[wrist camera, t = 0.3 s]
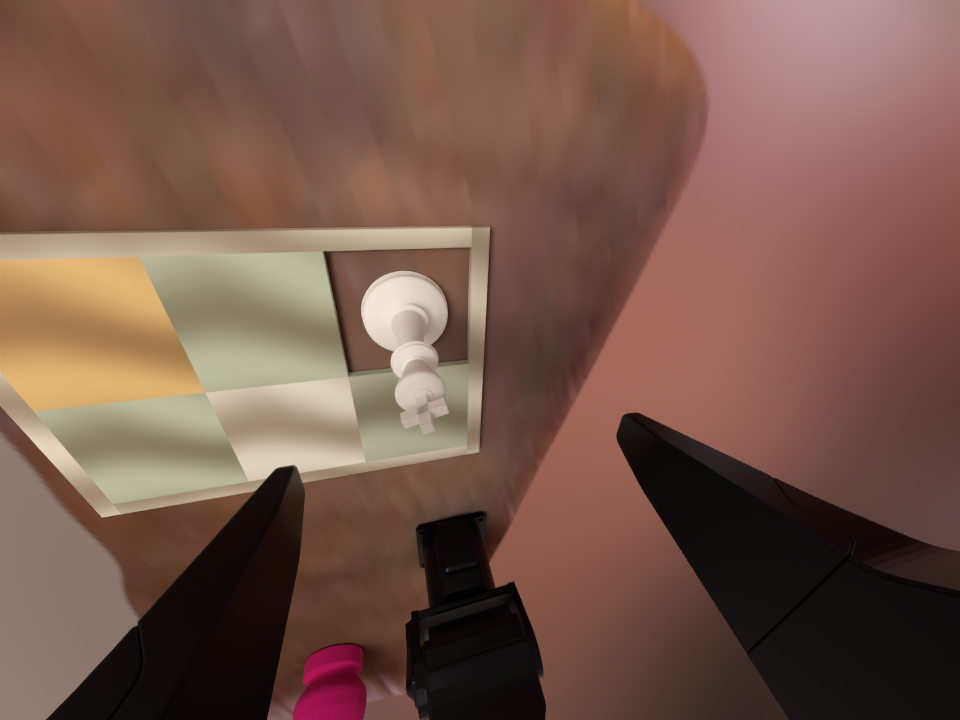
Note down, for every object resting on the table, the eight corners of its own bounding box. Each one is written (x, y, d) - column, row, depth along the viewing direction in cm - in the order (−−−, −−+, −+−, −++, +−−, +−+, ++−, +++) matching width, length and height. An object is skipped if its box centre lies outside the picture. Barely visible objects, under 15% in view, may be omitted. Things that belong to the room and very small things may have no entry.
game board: (477, 447, 28) (478, 452, 27) (107, 510, 22) (102, 517, 22) (487, 225, 19) (490, 227, 18) (-137, 233, 13) (-154, 236, 12)
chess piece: (345, 287, 18) (323, 402, 10) (432, 258, 19) (477, 348, 11) (381, 359, 21) (387, 494, 13) (456, 333, 22) (506, 448, 14)
